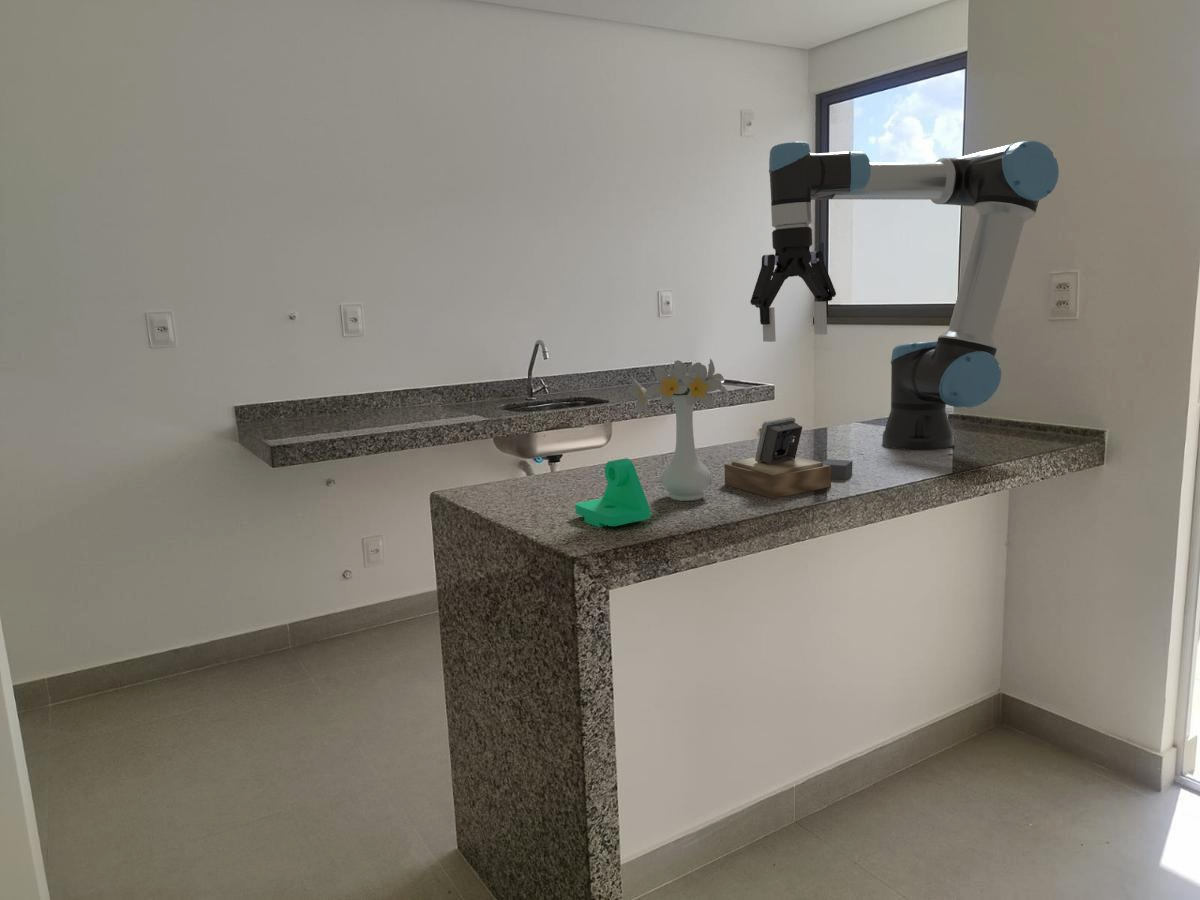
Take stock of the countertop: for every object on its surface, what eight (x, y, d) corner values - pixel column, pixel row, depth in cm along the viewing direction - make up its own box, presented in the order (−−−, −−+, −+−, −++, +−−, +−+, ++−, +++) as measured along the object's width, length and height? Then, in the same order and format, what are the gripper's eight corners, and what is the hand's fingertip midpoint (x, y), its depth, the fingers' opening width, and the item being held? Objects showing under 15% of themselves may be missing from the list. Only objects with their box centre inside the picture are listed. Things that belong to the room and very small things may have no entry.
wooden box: (781, 474, 173) (781, 451, 172) (831, 486, 161) (831, 462, 160) (724, 484, 166) (724, 461, 165) (772, 498, 154) (771, 473, 153)
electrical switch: (784, 456, 167) (787, 415, 165) (802, 462, 164) (805, 419, 161) (753, 463, 162) (756, 420, 160) (772, 469, 159) (775, 425, 157)
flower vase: (623, 499, 159) (617, 363, 154) (705, 484, 167) (702, 355, 162) (661, 513, 147) (656, 367, 143) (747, 497, 156) (745, 358, 151)
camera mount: (573, 518, 148) (570, 459, 146) (610, 510, 152) (608, 453, 150) (611, 533, 138) (609, 470, 136) (650, 524, 142) (648, 463, 140)
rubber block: (826, 473, 172) (827, 459, 172) (852, 475, 170) (852, 460, 169) (819, 479, 168) (820, 464, 168) (845, 481, 166) (845, 465, 165)
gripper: (824, 226, 175) (827, 331, 180) (728, 231, 163) (734, 344, 167) (852, 223, 169) (855, 331, 173) (754, 228, 157) (760, 345, 161)
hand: (795, 338), depth 170 cm, fingers open, 13 cm apart
